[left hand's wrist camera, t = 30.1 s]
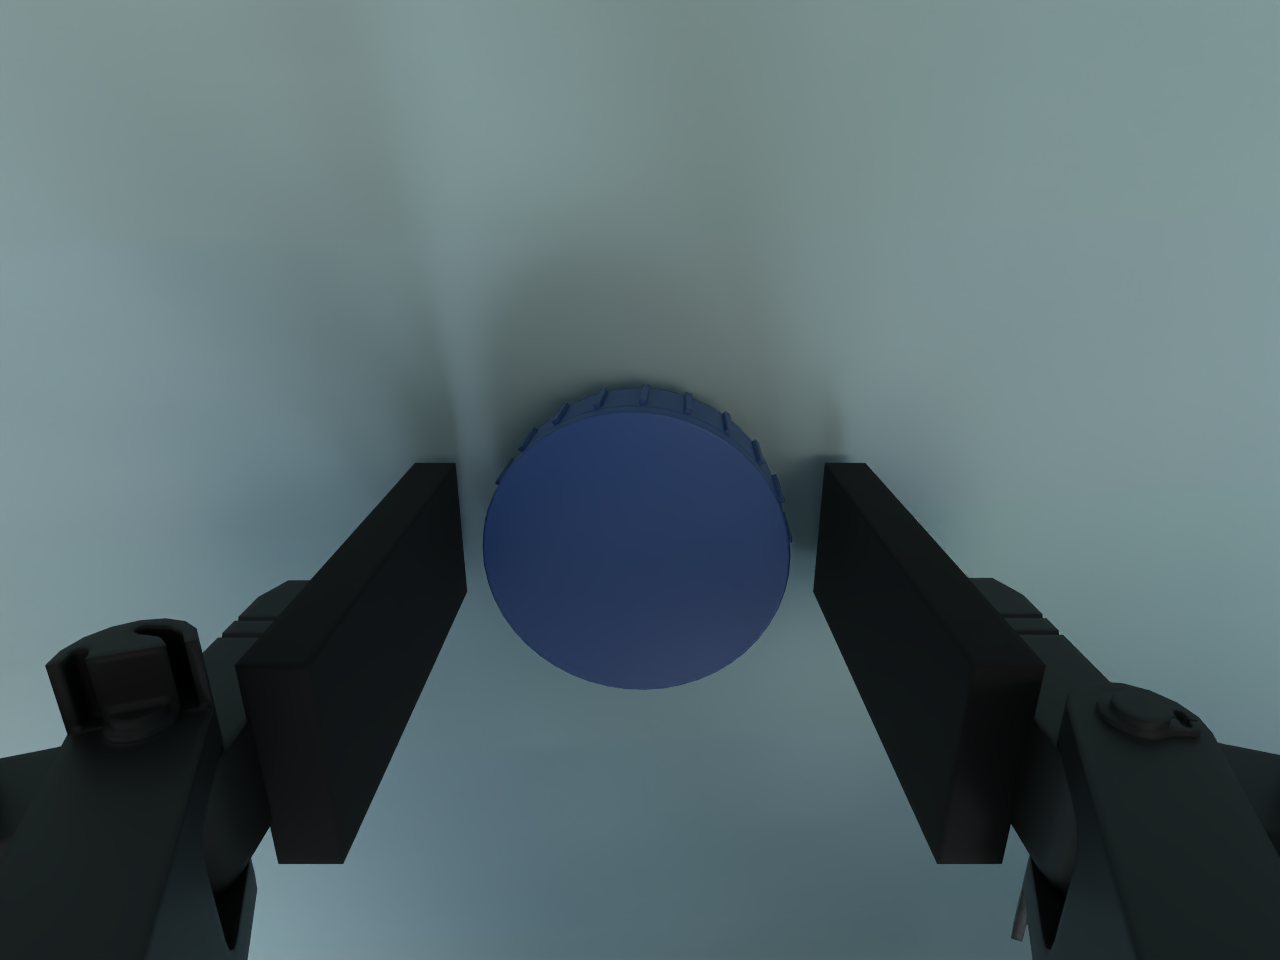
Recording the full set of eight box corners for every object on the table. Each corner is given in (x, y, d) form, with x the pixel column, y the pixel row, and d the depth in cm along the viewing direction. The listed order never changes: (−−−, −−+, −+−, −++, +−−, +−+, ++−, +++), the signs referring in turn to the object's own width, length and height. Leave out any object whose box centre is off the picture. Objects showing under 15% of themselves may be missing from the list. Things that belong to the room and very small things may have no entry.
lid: (829, 440, 13) (847, 471, 12) (721, 676, 15) (725, 730, 13) (546, 341, 13) (526, 359, 11) (471, 595, 15) (446, 640, 13)
